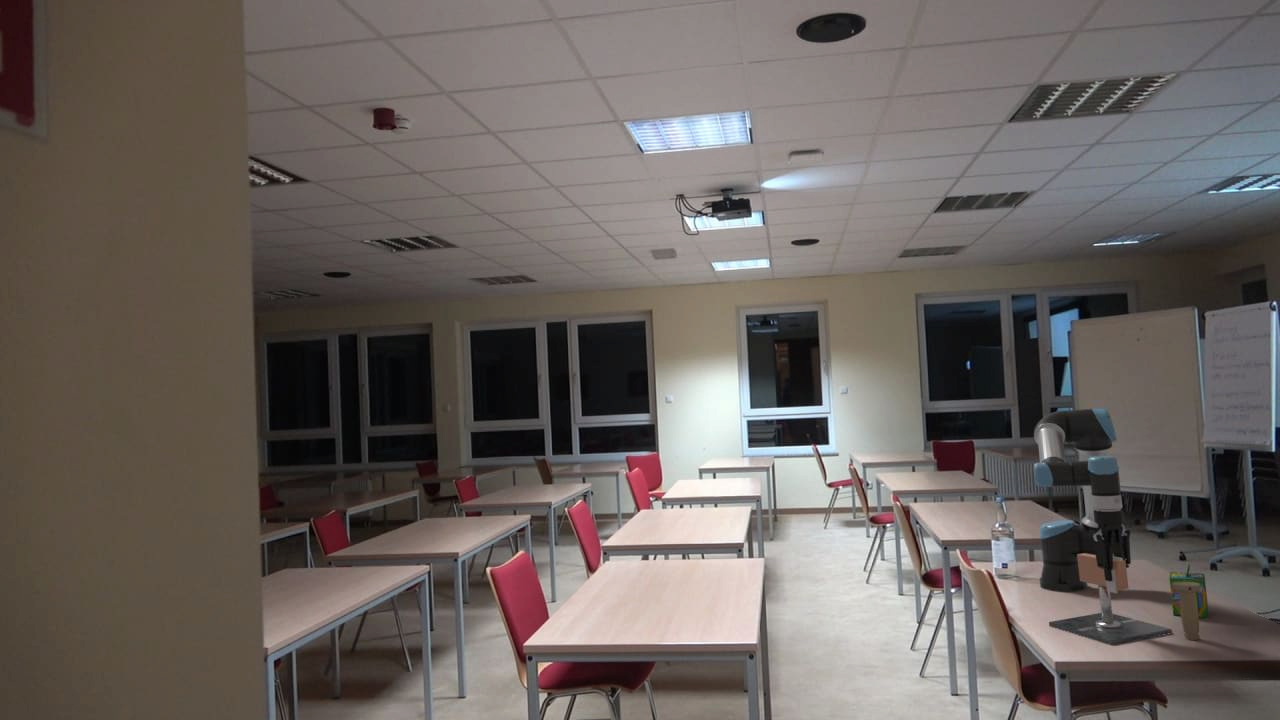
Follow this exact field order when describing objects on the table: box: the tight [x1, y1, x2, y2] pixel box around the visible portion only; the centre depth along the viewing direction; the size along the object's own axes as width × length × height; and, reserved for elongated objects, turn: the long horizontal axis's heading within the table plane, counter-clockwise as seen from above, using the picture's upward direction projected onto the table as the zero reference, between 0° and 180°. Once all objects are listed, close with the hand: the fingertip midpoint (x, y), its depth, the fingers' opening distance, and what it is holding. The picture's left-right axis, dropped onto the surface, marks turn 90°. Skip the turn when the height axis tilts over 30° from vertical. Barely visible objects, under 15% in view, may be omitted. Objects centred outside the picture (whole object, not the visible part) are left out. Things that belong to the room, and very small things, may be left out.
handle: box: [1172, 582, 1200, 641], centre depth 215 cm, size 5×6×15 cm
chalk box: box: [1169, 563, 1210, 618], centre depth 238 cm, size 9×9×15 cm
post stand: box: [1048, 585, 1173, 646], centre depth 228 cm, size 22×22×13 cm
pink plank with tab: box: [1077, 553, 1129, 591], centre depth 229 cm, size 3×14×9 cm, turn 17°
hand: (1117, 590), depth 224 cm, fingers closed on pink plank with tab, 3 cm apart
